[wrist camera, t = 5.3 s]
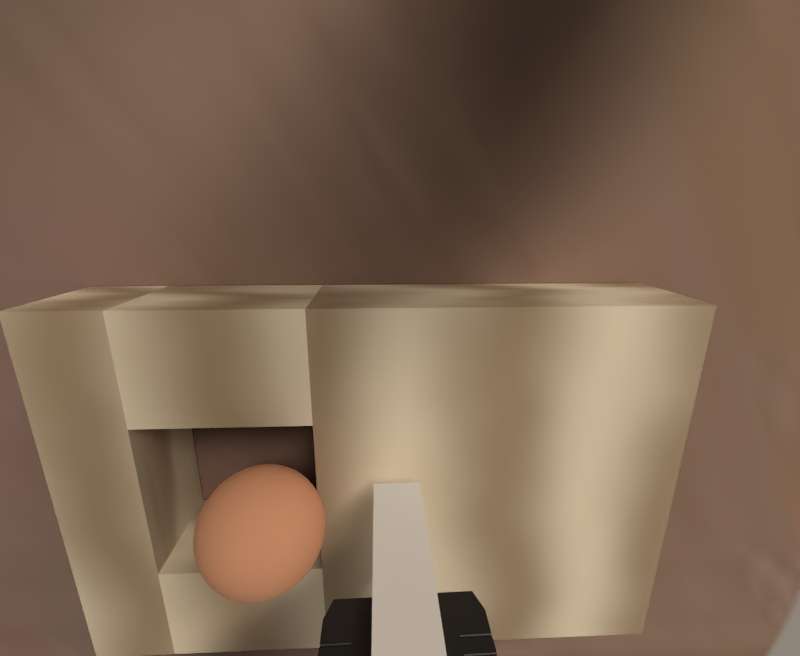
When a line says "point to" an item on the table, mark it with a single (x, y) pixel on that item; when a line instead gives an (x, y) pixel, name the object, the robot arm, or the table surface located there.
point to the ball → (259, 533)
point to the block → (366, 443)
